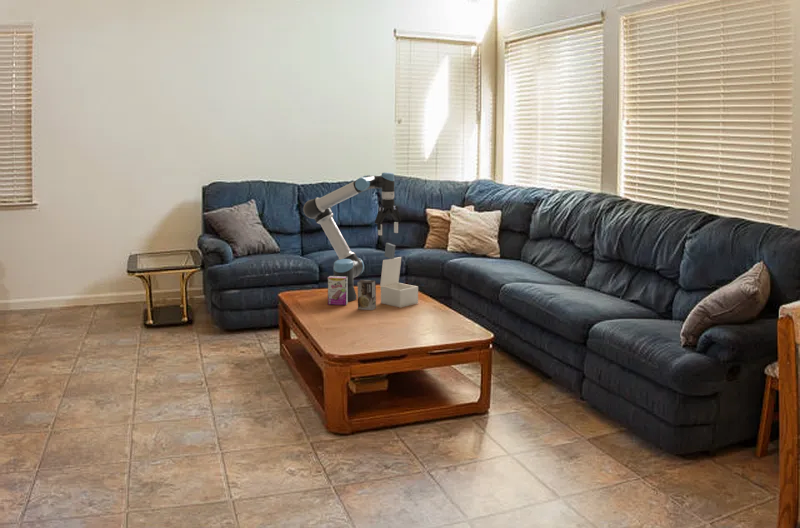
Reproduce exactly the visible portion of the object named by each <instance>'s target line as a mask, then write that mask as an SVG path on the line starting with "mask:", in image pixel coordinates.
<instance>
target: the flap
mask: <svg viewBox="0 0 800 528" xmlns="http://www.w3.org/2000/svg"><path fill="white" fill-rule="evenodd" d="M384 248H385V249H384V254H383V256H384V258H385V257H386V258H387V259H383V260H382V264H381V265H382V266H381V274H380V275H381V276H380V284H379V287H381V286H385V285H390V284H395V283H400V281H399V280H400V272H401V265H402V256H398V257H395V254H396V253H395V252H396V245H395V244H394V243H393V244H392V243H390V242H386V243H385V246H384Z"/></svg>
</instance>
